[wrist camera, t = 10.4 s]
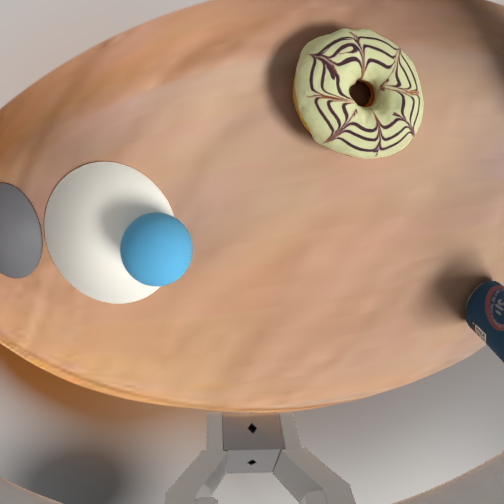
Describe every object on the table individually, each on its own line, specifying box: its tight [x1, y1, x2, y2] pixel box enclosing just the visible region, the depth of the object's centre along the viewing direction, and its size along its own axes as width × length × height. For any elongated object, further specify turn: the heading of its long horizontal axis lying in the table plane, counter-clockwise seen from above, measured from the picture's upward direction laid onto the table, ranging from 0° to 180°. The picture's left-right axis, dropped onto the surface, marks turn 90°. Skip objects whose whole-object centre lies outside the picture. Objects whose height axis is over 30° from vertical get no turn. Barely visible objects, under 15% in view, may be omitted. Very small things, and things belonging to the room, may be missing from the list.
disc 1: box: [0, 183, 42, 278], centre depth 23 cm, size 10×10×1 cm
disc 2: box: [44, 162, 174, 303], centre depth 24 cm, size 13×13×1 cm
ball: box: [120, 212, 192, 286], centre depth 22 cm, size 6×6×6 cm
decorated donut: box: [292, 28, 424, 159], centre depth 20 cm, size 10×11×4 cm
